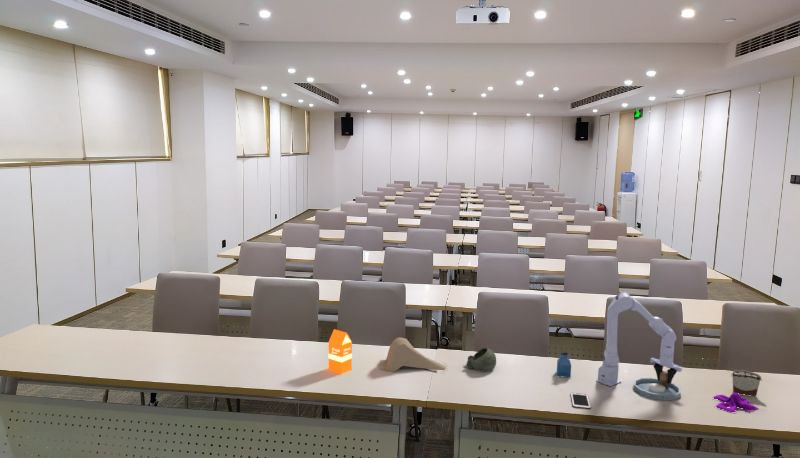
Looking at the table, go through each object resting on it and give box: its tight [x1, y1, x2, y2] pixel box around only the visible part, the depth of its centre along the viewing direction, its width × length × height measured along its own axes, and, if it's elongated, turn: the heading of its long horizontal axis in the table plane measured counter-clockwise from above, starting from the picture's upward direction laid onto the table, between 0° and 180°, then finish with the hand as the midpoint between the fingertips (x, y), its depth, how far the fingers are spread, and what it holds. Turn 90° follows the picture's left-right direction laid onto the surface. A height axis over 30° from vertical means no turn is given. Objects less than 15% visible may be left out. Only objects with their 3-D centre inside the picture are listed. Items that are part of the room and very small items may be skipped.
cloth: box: [712, 392, 760, 413], centre depth 254 cm, size 22×19×6 cm
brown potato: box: [659, 370, 669, 387], centre depth 271 cm, size 4×4×6 cm
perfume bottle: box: [556, 350, 572, 378], centre depth 284 cm, size 6×6×12 cm
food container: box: [730, 369, 763, 397], centre depth 268 cm, size 12×6×10 cm, turn 71°
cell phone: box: [570, 392, 592, 410], centre depth 255 cm, size 8×15×1 cm, turn 167°
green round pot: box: [466, 347, 497, 372], centre depth 291 cm, size 15×15×10 cm
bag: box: [378, 337, 447, 373], centre depth 290 cm, size 19×17×35 cm
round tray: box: [633, 377, 682, 401], centre depth 268 cm, size 20×20×2 cm
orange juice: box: [328, 328, 353, 375], centre depth 283 cm, size 8×9×20 cm
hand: (664, 381), depth 271 cm, fingers closed on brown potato, 4 cm apart
